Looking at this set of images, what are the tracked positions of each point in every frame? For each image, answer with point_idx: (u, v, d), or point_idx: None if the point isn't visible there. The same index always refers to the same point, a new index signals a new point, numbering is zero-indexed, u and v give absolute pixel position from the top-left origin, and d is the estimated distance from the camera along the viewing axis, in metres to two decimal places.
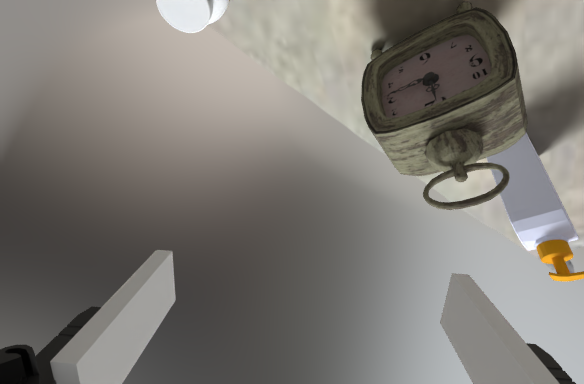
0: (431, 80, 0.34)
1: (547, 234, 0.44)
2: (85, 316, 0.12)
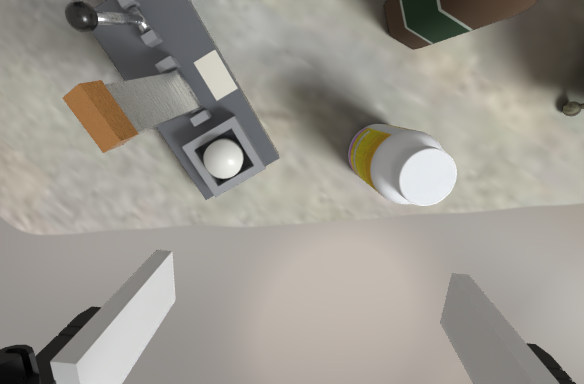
0: None
1: None
2: (85, 316, 0.12)
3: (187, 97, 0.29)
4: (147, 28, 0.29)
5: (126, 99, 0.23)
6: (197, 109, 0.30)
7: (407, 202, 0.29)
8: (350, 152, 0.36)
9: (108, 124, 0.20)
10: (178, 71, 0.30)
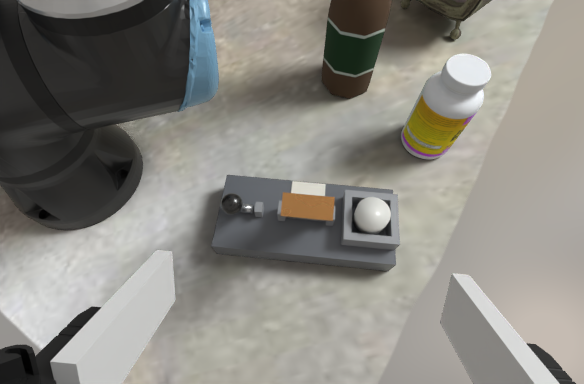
0: None
1: None
2: (85, 316, 0.12)
3: None
4: (252, 205, 0.36)
5: None
6: None
7: (480, 101, 0.36)
8: (415, 150, 0.43)
9: None
10: None
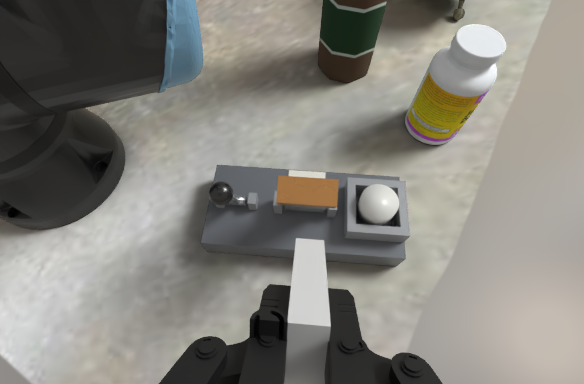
0: None
1: None
2: (270, 291, 0.14)
3: None
4: (245, 197, 0.33)
5: None
6: None
7: (494, 76, 0.32)
8: (421, 134, 0.40)
9: (320, 178, 0.21)
10: None
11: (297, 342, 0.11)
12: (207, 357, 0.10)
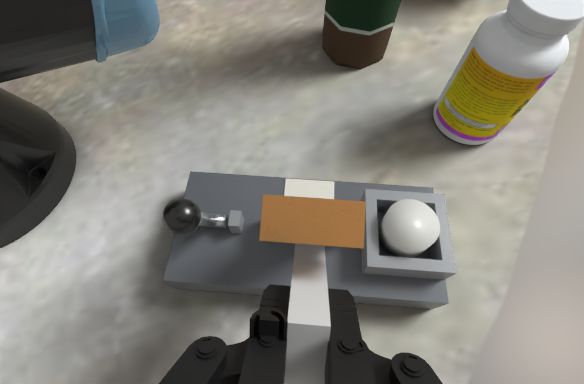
0: None
1: None
2: (270, 291, 0.14)
3: None
4: (225, 216, 0.24)
5: None
6: None
7: (566, 50, 0.24)
8: (456, 131, 0.31)
9: (334, 199, 0.13)
10: None
11: (297, 342, 0.11)
12: (207, 357, 0.10)
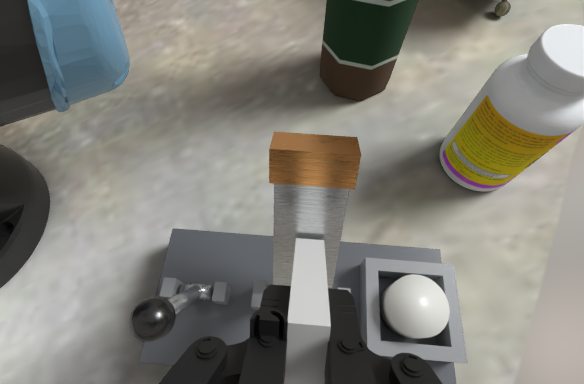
0: None
1: None
2: (270, 291, 0.14)
3: None
4: (209, 288, 0.22)
5: None
6: None
7: None
8: (465, 178, 0.28)
9: (331, 136, 0.16)
10: None
11: (297, 343, 0.11)
12: (207, 357, 0.10)
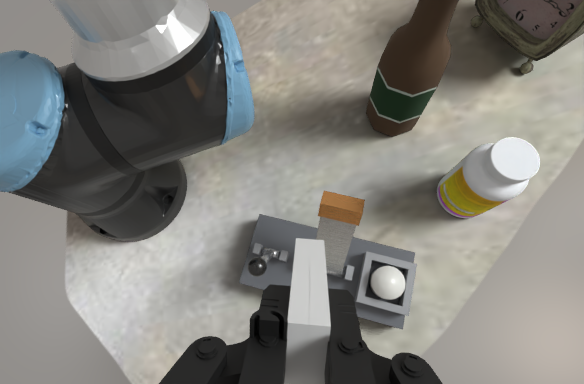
0: None
1: None
2: (270, 291, 0.14)
3: None
4: (278, 252, 0.40)
5: None
6: (343, 265, 0.39)
7: (523, 187, 0.34)
8: (448, 208, 0.42)
9: (351, 197, 0.31)
10: None
11: (297, 342, 0.11)
12: (207, 357, 0.10)
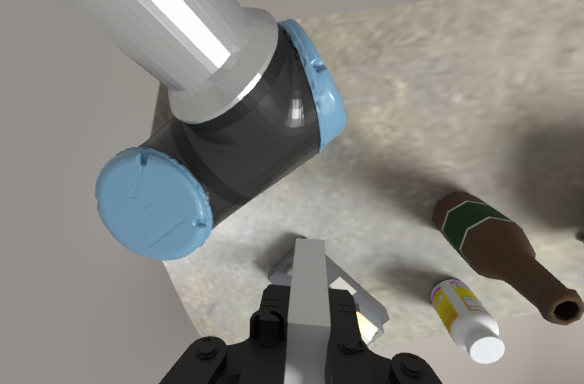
0: None
1: None
2: (270, 291, 0.14)
3: None
4: None
5: None
6: None
7: None
8: (432, 302, 0.56)
9: None
10: None
11: (297, 342, 0.11)
12: (207, 357, 0.10)
